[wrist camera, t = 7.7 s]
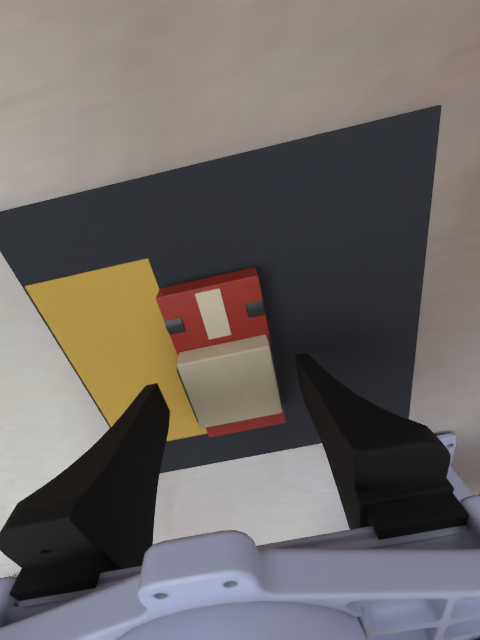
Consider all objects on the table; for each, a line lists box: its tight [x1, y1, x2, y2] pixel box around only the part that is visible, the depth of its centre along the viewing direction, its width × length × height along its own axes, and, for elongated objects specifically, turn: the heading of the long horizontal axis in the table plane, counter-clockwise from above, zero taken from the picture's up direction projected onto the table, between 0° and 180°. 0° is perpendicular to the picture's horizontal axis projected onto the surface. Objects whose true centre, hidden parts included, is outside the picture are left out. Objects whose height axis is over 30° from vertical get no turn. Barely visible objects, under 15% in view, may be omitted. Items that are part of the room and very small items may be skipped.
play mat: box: [0, 105, 441, 473], centre depth 17 cm, size 20×21×1 cm
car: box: [156, 267, 286, 437], centre depth 16 cm, size 10×3×5 cm
